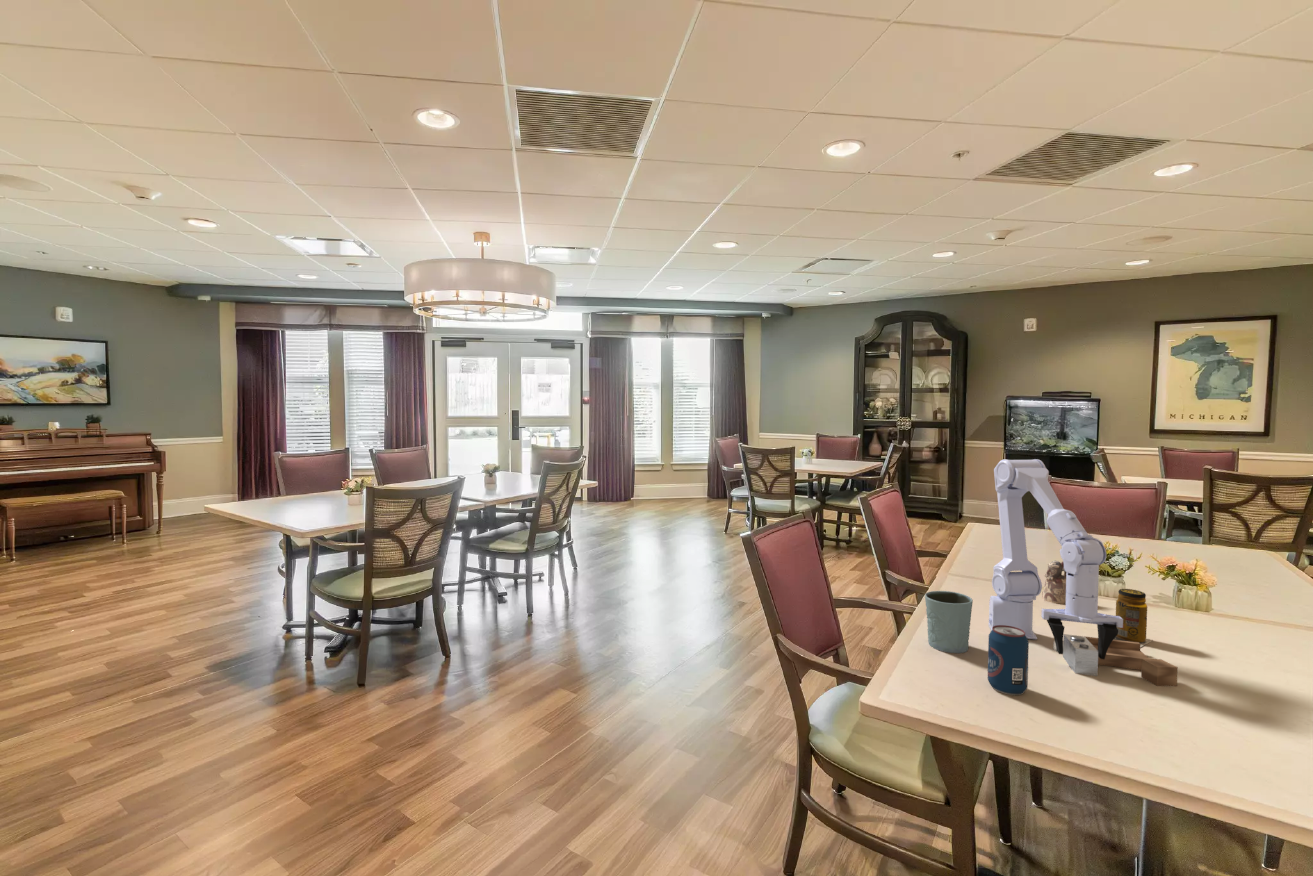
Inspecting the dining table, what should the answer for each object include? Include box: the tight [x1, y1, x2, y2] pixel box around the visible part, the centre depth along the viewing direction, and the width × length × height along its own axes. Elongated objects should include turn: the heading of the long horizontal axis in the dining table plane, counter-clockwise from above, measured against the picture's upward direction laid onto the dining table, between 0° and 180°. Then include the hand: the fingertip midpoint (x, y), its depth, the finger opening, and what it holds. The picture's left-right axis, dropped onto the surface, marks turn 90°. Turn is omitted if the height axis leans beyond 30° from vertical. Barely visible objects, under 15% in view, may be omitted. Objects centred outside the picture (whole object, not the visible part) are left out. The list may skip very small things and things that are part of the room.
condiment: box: [1113, 588, 1153, 648], centre depth 145 cm, size 7×8×12 cm
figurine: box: [1041, 560, 1066, 605], centre depth 176 cm, size 7×7×12 cm
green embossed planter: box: [924, 590, 974, 654], centre depth 141 cm, size 10×10×12 cm
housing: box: [1062, 633, 1099, 677], centre depth 130 cm, size 4×9×6 cm, turn 159°
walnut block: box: [1140, 658, 1178, 687], centre depth 122 cm, size 4×4×4 cm
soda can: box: [987, 625, 1029, 696], centre depth 119 cm, size 7×7×12 cm
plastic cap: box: [1052, 640, 1057, 652], centre depth 139 cm, size 4×4×2 cm
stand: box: [1085, 636, 1154, 671], centre depth 134 cm, size 12×11×2 cm
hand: (1080, 655), depth 130 cm, fingers open, 7 cm apart
